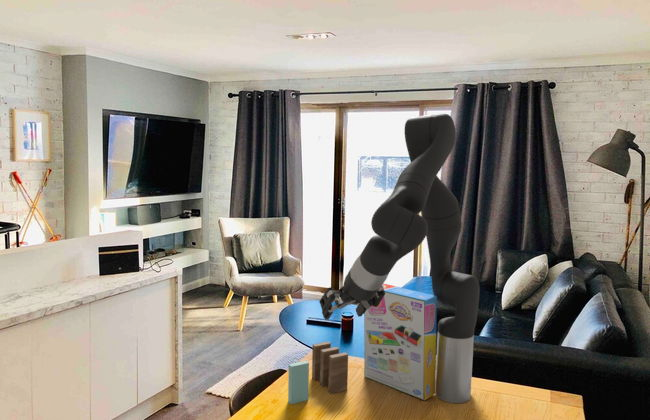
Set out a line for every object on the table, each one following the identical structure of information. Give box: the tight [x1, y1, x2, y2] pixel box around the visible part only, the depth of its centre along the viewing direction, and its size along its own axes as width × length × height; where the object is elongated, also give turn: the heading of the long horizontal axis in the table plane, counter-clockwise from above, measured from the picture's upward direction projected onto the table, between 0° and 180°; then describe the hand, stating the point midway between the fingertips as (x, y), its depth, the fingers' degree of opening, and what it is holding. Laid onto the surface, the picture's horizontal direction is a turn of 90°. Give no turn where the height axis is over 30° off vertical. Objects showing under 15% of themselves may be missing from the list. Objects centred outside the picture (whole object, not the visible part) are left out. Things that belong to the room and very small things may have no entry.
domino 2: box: [319, 346, 340, 388], centre depth 144 cm, size 2×5×10 cm, turn 120°
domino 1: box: [311, 341, 332, 382], centre depth 148 cm, size 2×5×10 cm, turn 121°
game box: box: [363, 283, 438, 401], centre depth 142 cm, size 21×6×27 cm, turn 46°
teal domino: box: [287, 360, 310, 405], centre depth 134 cm, size 2×5×10 cm, turn 121°
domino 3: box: [327, 351, 349, 395], centre depth 140 cm, size 2×5×10 cm, turn 121°
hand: (341, 314), depth 122 cm, fingers open, 8 cm apart
